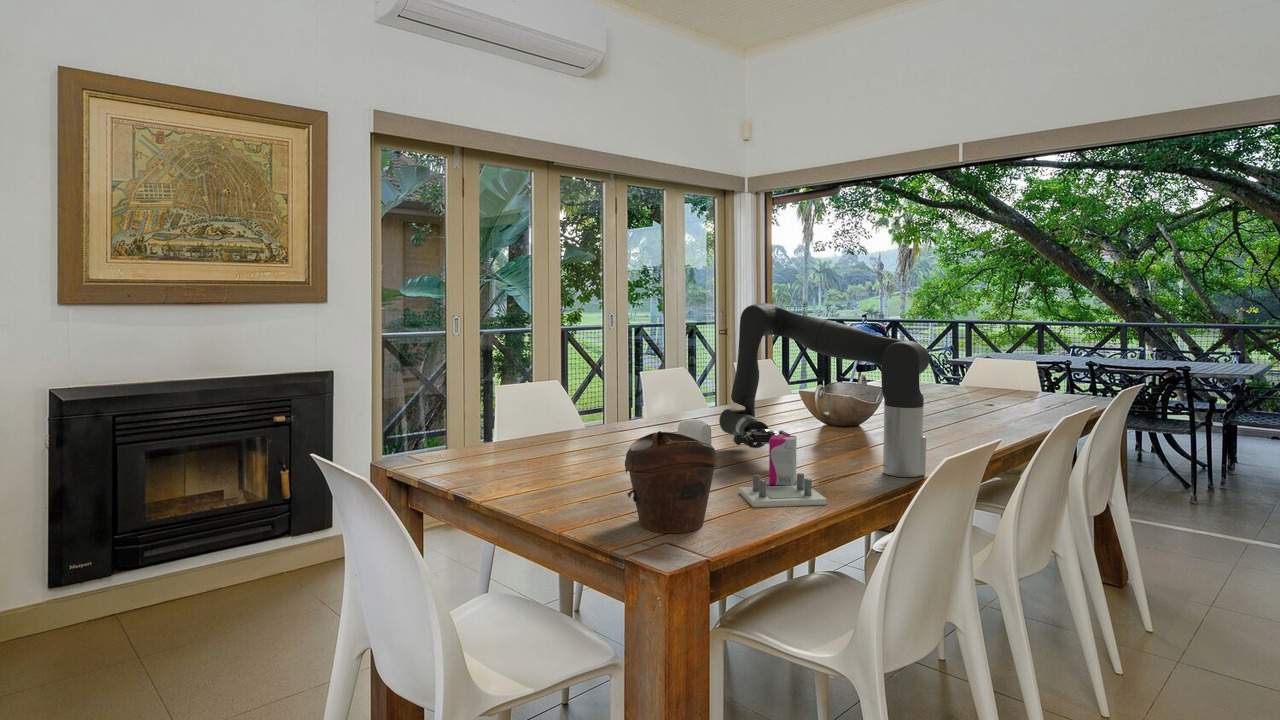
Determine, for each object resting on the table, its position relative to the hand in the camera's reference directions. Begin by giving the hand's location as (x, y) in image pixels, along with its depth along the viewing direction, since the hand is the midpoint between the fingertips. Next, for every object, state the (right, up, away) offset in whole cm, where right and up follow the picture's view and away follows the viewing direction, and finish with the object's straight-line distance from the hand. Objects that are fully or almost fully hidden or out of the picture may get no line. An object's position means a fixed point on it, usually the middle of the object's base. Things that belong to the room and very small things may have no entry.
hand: (768, 443), depth 182 cm
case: (-27, -11, -41) cm, 50 cm away
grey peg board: (-1, -9, -23) cm, 25 cm away
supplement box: (+1, -9, -11) cm, 14 cm away
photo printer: (-18, -7, +10) cm, 22 cm away
